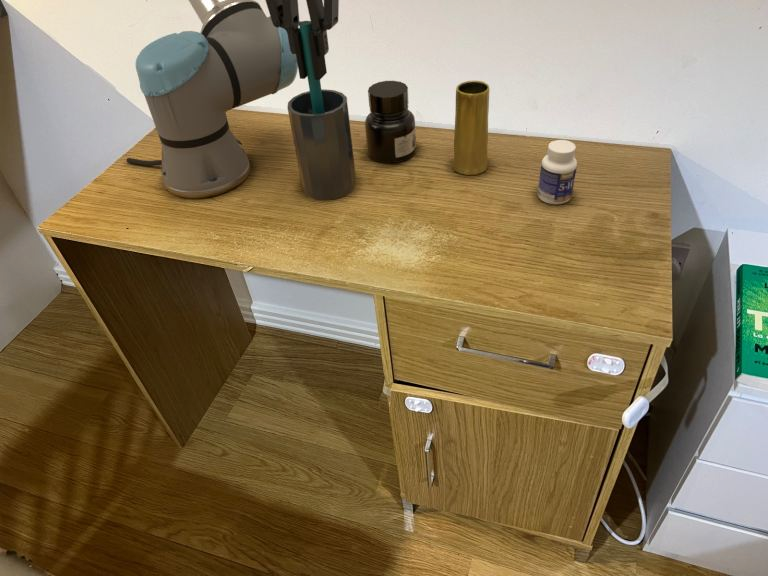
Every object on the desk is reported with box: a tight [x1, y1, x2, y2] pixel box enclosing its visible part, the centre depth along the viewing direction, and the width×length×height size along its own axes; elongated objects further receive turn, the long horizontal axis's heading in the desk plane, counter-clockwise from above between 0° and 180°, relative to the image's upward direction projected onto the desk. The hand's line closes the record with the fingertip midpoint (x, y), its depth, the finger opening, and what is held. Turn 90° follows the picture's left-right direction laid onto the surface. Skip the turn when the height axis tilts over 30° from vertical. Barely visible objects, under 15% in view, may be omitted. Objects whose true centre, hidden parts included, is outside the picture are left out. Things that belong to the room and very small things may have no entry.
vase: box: [452, 80, 490, 176], centre depth 98 cm, size 6×6×14 cm
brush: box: [298, 20, 325, 114], centre depth 91 cm, size 4×4×24 cm
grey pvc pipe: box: [287, 88, 357, 201], centre depth 96 cm, size 9×9×15 cm
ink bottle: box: [364, 80, 417, 163], centre depth 104 cm, size 10×9×12 cm
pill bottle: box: [537, 139, 578, 205], centre depth 91 cm, size 5×5×9 cm
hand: (313, 75), depth 88 cm, fingers closed on brush, 2 cm apart
